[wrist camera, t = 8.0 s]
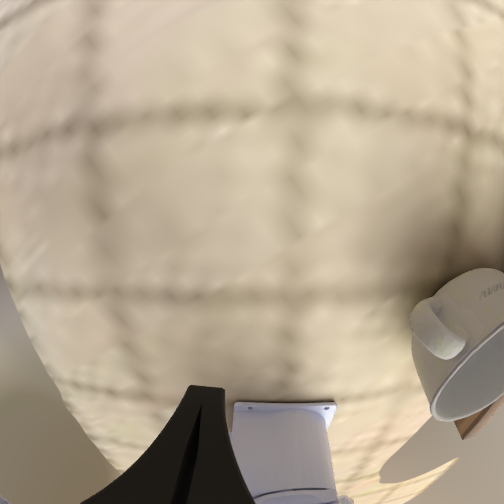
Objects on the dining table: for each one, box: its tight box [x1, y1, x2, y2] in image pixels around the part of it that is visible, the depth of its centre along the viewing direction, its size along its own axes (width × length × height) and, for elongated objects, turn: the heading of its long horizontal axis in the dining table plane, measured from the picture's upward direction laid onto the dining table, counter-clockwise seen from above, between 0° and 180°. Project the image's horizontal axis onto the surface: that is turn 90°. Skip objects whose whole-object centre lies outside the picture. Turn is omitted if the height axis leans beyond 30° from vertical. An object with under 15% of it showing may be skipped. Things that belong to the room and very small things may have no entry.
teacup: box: [409, 268, 504, 421], centre depth 16 cm, size 14×11×8 cm
